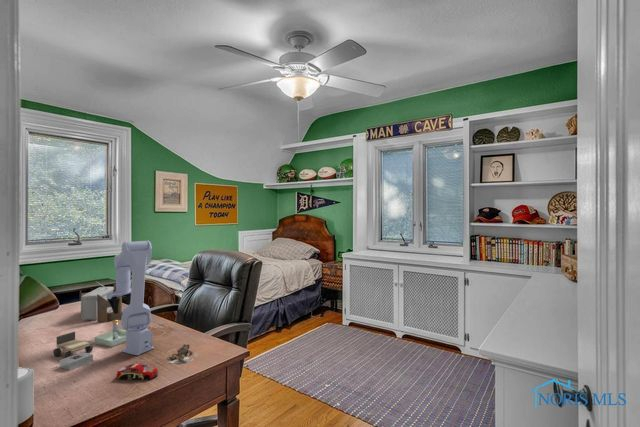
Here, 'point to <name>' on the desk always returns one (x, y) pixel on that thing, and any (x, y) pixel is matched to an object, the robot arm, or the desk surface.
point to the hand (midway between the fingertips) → (123, 311)
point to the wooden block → (102, 309)
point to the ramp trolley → (70, 345)
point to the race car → (137, 372)
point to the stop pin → (115, 329)
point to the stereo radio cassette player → (93, 302)
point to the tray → (111, 338)
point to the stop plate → (76, 360)
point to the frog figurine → (181, 355)
